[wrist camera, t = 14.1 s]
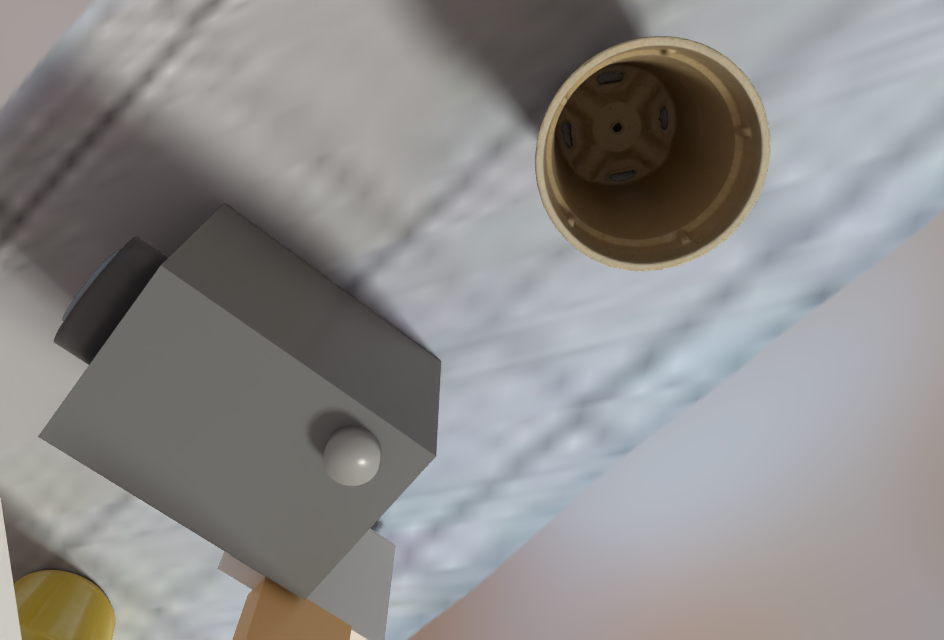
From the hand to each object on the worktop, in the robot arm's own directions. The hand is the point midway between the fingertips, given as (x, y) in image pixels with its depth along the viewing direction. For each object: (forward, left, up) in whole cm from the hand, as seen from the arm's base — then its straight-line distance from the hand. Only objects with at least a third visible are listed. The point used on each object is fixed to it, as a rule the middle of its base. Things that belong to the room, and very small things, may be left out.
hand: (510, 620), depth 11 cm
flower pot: (-7, -2, -34) cm, 35 cm away
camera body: (+10, +12, -34) cm, 37 cm away
